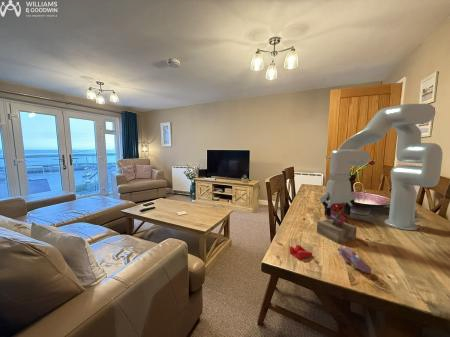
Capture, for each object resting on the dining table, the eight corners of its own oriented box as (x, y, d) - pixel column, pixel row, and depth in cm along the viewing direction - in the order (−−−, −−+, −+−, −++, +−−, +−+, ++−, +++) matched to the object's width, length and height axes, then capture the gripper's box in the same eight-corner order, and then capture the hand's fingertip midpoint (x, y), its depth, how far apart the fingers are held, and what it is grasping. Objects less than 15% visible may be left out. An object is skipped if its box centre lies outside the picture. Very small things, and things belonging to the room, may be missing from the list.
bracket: (299, 260, 68) (299, 253, 68) (289, 254, 72) (289, 246, 72) (312, 256, 70) (312, 249, 70) (302, 250, 75) (302, 243, 75)
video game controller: (340, 261, 70) (333, 245, 69) (350, 255, 70) (343, 239, 69) (361, 279, 60) (353, 261, 59) (374, 272, 60) (366, 254, 59)
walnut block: (333, 230, 94) (334, 218, 93) (355, 239, 84) (356, 226, 83) (316, 233, 90) (317, 221, 89) (337, 244, 80) (338, 230, 79)
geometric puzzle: (352, 221, 84) (341, 204, 87) (347, 225, 80) (335, 207, 82) (337, 226, 89) (327, 210, 92) (332, 230, 84) (321, 214, 87)
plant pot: (349, 224, 100) (351, 202, 99) (322, 219, 107) (323, 199, 105) (349, 217, 111) (350, 197, 110) (324, 213, 118) (325, 194, 116)
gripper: (350, 175, 89) (348, 211, 91) (316, 177, 87) (314, 213, 88) (363, 178, 82) (361, 216, 83) (327, 179, 79) (325, 219, 81)
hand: (337, 214), depth 86 cm, fingers open, 9 cm apart
